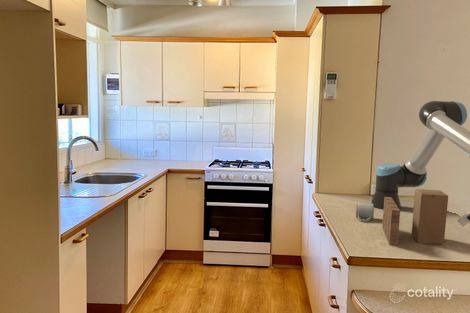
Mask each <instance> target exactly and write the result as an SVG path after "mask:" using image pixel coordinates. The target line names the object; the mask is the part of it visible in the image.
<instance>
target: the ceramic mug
mask: <svg viewBox="0 0 470 313" xmlns="http://www.w3.org/2000/svg"><path fill="white" fill-rule="evenodd" d="M374 208H375V207H374V204H371V203H363V202H362V203H356V206H355V218H357V220H358V221H359V222H361V221H362V223H368V222H370V220H371V221H374V216H375V215H374V214H375V212H374V210H375V209H374Z"/></svg>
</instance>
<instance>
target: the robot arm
mask: <svg viewBox="0 0 470 313" xmlns="http://www.w3.org/2000/svg"><path fill="white" fill-rule="evenodd" d="M418 118H419V121H420V122H421V124H422V125H424V126H425V127H426V128H427V131H426V132H425V134H424V135H423V137H422V138H421V140H420V142H419V144H418V145H417V147H416V149H415V150H414V152H413V154H412V155H411V157H410V159H406V160H405V161H404V162H403V165H401V166H400V164H398V163H394V162H393V163H382V164H379V165H378V166H377V167H376V173H375V174H376V175H375V176H376V177H375V178H376V179H375V191H374V194H373V196H372V198H371V201H370V204H374V208H376V209H381V210H384V197H392V199H393V200H394V202H395V203H396V205H397V207H398V208H399V210H401V205H402V204H401V202H400V201H401V200H400V197H399V188H417V187H421V186H423V185H424V184H425V183H426V182H427V176H428V173H427V165H428V164H429V163H430V161H431V159H432V158H433V156H434V155H435V154H436V152H437V150H438V148H439V147H440V146H441V144H442V142H443V141H444V139H445V138H446V139H447V140H448V141H450V142H451V143H453V144H455V145H456V146H457V147H459V148H460V149H461V150H463V151H464V152H466V153H467V154H468V157H469V158H470V130H469V129H467V128H465V127H464V126H463V125H464V124H465V123H466V121H467V118H468V112H467V108H466V106H465V105H464V104H463V103H461V102H459V101H453V100H451V101H442V100H441V101H439V100H432V101H428V102H426V103H424V104H423V105H422V106H421V107H420V109H419V112H418ZM457 222H458V223H459V225H461V226H462V227H464V226H466V225H468V224H469V223H470V210H469V211H468V212H467V213H465V214H464V215H463V216H461V217H460V218H459V219H457Z"/></svg>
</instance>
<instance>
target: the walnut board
mask: <svg viewBox="0 0 470 313" xmlns="http://www.w3.org/2000/svg"><path fill="white" fill-rule="evenodd" d="M382 210H383V214H382V225H381V226H382V230H383V232H384V235H385V238H386V241H387V243H388V245H389V246H396V247H397V246H399V245H398V243H399V234H400V233H399V230H400V218H401V217H400V216H401V209H399V208H398V207H397V205H396V203H395V202H394V200H393V199H392V197H384V209H382Z"/></svg>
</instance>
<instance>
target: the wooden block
mask: <svg viewBox="0 0 470 313" xmlns="http://www.w3.org/2000/svg"><path fill="white" fill-rule="evenodd" d="M413 201H414V202H413V211H412V212H413V214H412V222H411V223H412V225H411V236H412V237H413V238H414V240H415V241H416V242H417V243H419V244H421V243H424V244H435V245H444V243H445V237H446V236H445V235H446V227H447V226H446V225H447V216H448V215H447V214H448V203H449V195H448V194H446V193H445V192H443V191H442V190H438V189H436V190H435V189H425V188H424V189H423V188H422V189H421V188H415V189H414V200H413Z"/></svg>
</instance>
